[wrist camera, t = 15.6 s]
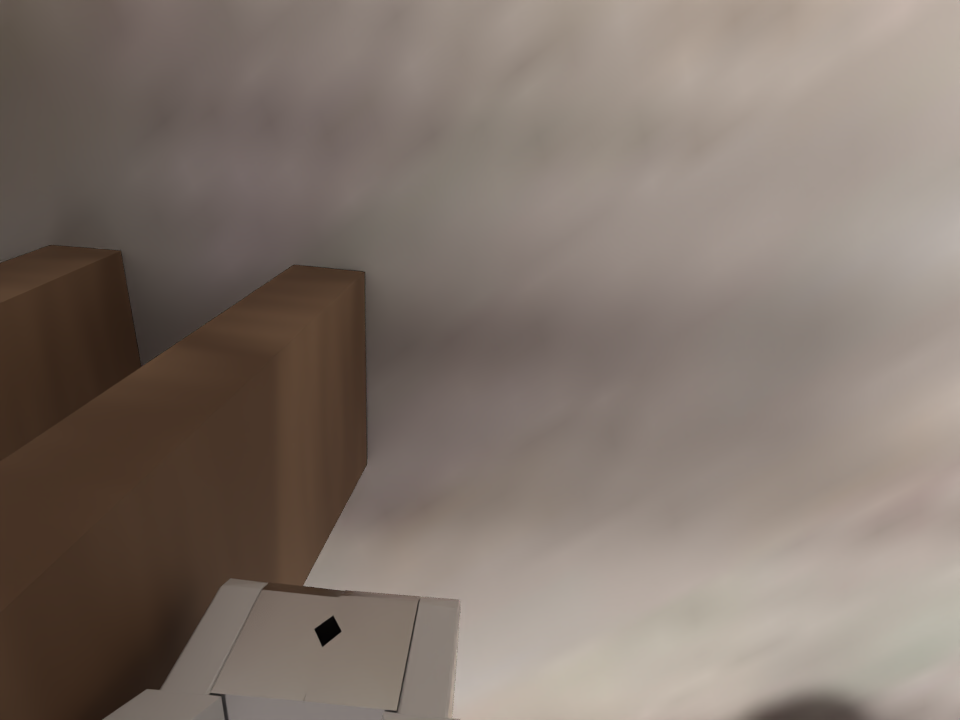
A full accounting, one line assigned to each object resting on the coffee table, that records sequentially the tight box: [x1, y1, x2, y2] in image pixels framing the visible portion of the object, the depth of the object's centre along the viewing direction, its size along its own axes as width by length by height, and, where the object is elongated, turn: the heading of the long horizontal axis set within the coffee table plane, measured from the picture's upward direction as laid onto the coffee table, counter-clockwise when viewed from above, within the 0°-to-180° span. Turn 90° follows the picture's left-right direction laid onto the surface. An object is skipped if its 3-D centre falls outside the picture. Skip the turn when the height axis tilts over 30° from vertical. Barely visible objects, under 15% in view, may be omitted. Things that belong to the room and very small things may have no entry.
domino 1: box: [0, 265, 367, 720], centre depth 10 cm, size 2×5×10 cm, turn 176°
